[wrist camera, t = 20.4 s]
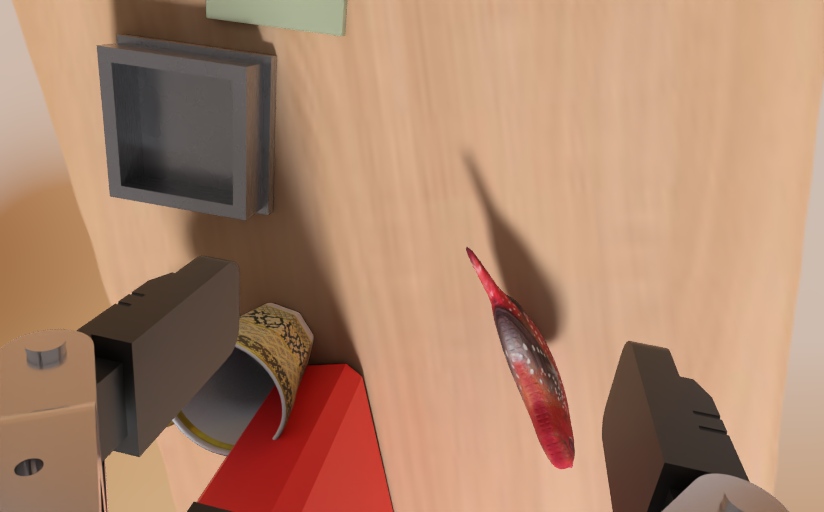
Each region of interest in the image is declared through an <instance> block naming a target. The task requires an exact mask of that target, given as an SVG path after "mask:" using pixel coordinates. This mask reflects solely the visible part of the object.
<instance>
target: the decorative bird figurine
mask: <svg viewBox="0 0 824 512" xmlns="http://www.w3.org/2000/svg"><path fill="white" fill-rule="evenodd" d="M466 251H467V254H468V256H469V258H470V261H471V263H472V264H473V267H474V269H475V270H476V273H477V274H478V277H479V279H480V280H481V282H482V284H483V286H484V288H485V290H486V292H487V294H488V296H489V299H490V301H491V304H492V310H493V316H494V321H495V325H496V328H497V331H498V335H499V338H500V341H501V345H502V348H503V351H504V354H505V357H506V360H507V362H508V365H509V368H510V370H511V373H512V375H513V377H514V380H515V382H516V384H517V387H518V389H519V392H520V394H521V396H522V399H523V401H524V403H525V406H526V408H527V410H528V412H529V415H530V417H531V420H532V423H533V426H534V428H535V431H536V434H537V437H538V439H539V442H540V444H541V446H542V448H543V450H544V452H545V454H546V455H547V457H548V459H549V460H550V462H551V463H552V464H553V465H554V466H555V467H557V468H559V469H566V468H568V467H570V468H572V466H573V461H574V455H575V450H574V437H573V432H572V427H571V421H570V415H569V408H568V403H567V398H566V394H565V390H564V387H563V384H562V380H561V377H560V374H559V372H558V369H557V366H556V364H555V361H554V359H553V356H552V354H551V352H550V350H549V348H548V346H547V344H546V342H545V340H544V338H543V336H542V335H541V333H540V331H539V330H538V328H537V327H536V325H535V324H534V323H533V322H532V320H531V319H530V318H529V317H528V316H527V314H526V313H525V312H524V310H523V309H522V308H521V306H520V305H519V304H518V303H517V302H516V301H515V300H514V299H512V298H511V297H509V296H508V295H506V294H505V293H504V292H503V291H501V289H500V288H499V287H498V286H497V285H496V283H495V282H494V280H493V279H492V278H491V276H490V275H489V274H488V272H487V270H486V269H485V268H484V266H483V265H482V264H481V262H480V261H479V259H478V258H477V256H476V255H475V254H474V253H473V251H472V250H470V249H469V248H468V247H467V248H466Z"/></svg>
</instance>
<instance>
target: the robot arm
mask: <svg viewBox="0 0 824 512" xmlns="http://www.w3.org/2000/svg"><path fill="white" fill-rule="evenodd" d="M239 305H240V271H239V266H238V264H237V263H236V262H232V261H227V260H222V259H217V258H212V257H207V256H199V257H197V258H196V259H194V260H193V261H191V262H190V263H189V264H187V265H186V266H184V267H183V268H182V269H180V270H179V271H178V272H176V273H169V274H166V275H163V276H161V277H158V278H155V279H152V280H149V281H147V282H146V283H144V284H143V285H142V286H140V287H139V288H137V289H136V290H134V291H133V292H132V295H130V294H129V295H127V296H126V297H124V298H123V299H121V300H120V301H119V303H118V304H114V305H113V306H111V307H110V308H109V309H107V310H106V311H104V312H103V313H101V314H100V315H98V316H97V317H95V318H94V319H93V320H92V321H90V322H88V323H87V324H85V325H84V326H82V327H81V328H80V329H78V330H77V331H74V330H66V329H54V330H53V329H52V330H43V331H38V332H33V333H29V334H26V335H23V336H21V337H18V338H16V339H14V340H12V341H10V342H8V343H7V344H5V345H4V346H3V347H2V348H1V349H0V512H108V499H107V483H106V467H105V459H106V458H107V456H108V455H109V454H110V453H111V452H112V451H117V452H121V453H125V454H129V455H133V456H137V457H140V456H141V455H142V454H143V452H144V451H145V450H146V449H147V448H148V447H149V446H150V445H151V443H152V442H153V441H154V440H155V439H156V438H157V437H158V436H159V435H160V433H161V432H162V431H163V430H164V429H165V428H166V427H167V426H168V424H169V423H170V422H171V421H172V420H173V419H174V418H175V417H176V415H177V414H178V413H179V412H180V411H181V410H182V409H183V408H184V407H185V405H186V404H187V403H188V402H189V401H190V400H191V399H192V398H193V396H194V395H195V394H196V393H197V392H198V391H199V390H200V389H201V388H202V386H203V385H204V384H205V383H206V382H207V381H208V380H209V379H210V377H211V376H212V375H213V374H214V373H215V372H216V371H217V370H218V369H219V367H220V366H221V365H222V364H223V363H224V362H225V361H226V360H227V358H228V357H229V356H230V355H231V353H232V351H233V349H234V347H235V345H236V342H237V338H238V333H239ZM602 441H603V448H604V454H605V461H606V468H607V475H608V482H609V488H610V495H611V502H612V509H613V512H789V511H788V510H787V509H786V508H785V507H784V505H783V504H781V503H780V502H779V501H778V500H777V499H776V498H775V497H773V496H772V495H771V494H769V493H768V492H766V491H765V490H763V489H762V488H760V487H758V486H756V485H754V484H753V483H750V482H749V480H748V477H747V475H746V473H745V471H744V468H743V466H742V464H741V462H740V459H739V457H738V455H737V453H736V450H735V448H734V446H733V444H732V441H731V439H730V437H729V436H728V435H727V430H726V428H725V426H724V424H723V421H722V420H720V415H719V412H718V410H717V408H716V406H715V403H714V401H713V399H712V397H711V396H710V395H709V394H708V393H707V392H706V391H705V390H704V389H703V388H702V387H701V386H700V385H699V384H698V383H697V382H695V381H694V380H693V379H689V378H684V377H680V376H679V374H678V371H677V369H676V366H675V363H674V361H673V358H672V356H671V353H670V351H669V349H667V348H662V347H657V346H652V345H647V344H642V343H637V342H632V341H628V342H626V344H625V346H624V348H623V350H622V354H621V357H620V360H619V364H618V367H617V370H616V374H615V377H614V380H613V384H612V387H611V390H610V394H609V397H608V400H607V404H606V407H605V411H604V417H603V424H602ZM187 512H233V511H229V510H225V509H221V508H217V507H213V506H209V505H205V504H201V503H198V502H193V504H192V505H191V507H190V508H189V509H188V511H187Z"/></svg>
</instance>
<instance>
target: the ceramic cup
mask: <svg viewBox="0 0 824 512" xmlns="http://www.w3.org/2000/svg"><path fill="white" fill-rule="evenodd" d="M313 337H314V336H313V334H312V332H311V331H310V329H309V327H308V326H307V324H306V323H305V321H304V319H303V318H302V316H301V314H300V313H299V312H296V311H293V310H291V309H288V308H285V307H282V306H279V305H277V304H274V303H266V304H264V305H262V306H260V307H258V308H256V309H254V310H252V311H250V312H248V313H246V314H244V315H242V316H240V317H239V333H238V338H237V342H236V345H235V347H234V349H233V351H232V353H231V355H230V356H229V357H228V358H227V360H226V361H225V362H224V363H223V364H222V365H221V366H220V367H219V369H218V370H217V371H216V372H215V373H214V374H213V375H212V376H211V377H210V379H209V380H208V381H207V382H206V383H205V384H204V385H203V386H202V388H201V389H200V390H199V391H198V392H197V393H196V394H195V395H194V396H193V398H192V399H191V400H190V401H189V402H188V403H187V404H186V405H185V407H184V408H183V409H182V410H181V411H180V412H179V413H178V414H177V415H176V417H175V418H174V419H173V420H172V421H171V422H170V423H169V424H168V426H171V425H174V424H175V425H176V426H177V427H178V428H179V430H180V431H181V432H182V433H183V434H185V435H186V436H187V437H188V438H189V439H190V440H192V441H193V442H194V443H196V444H197V445H199V446H201V447H203V448H205V449H206V450H209V451H211V452H214V453H217V454H220V455H224V456H227V455H228V454H229V453H230V451H231V450H232V448H233V447H234V445H235V444H236V442H237V440H238V439H239V437H240V436H241V434H242V433H243V432H244V430H245V429H246V427H247V426H248V424H249V423H250V421H251V420H252V418H253V417H254V415H255V414H256V412H257V411H258V409H259V408H260V406H261V405H262V403H263V402H264V400H265V399H266V397H267V396H268V394H269V393H270V391H271V390H272V388H273V387H274V385H276V387H277V389H278V391H279V394H280V398H281V403H282V419H281V423H280V426H279V428H278V430H277V432H276V434H275V435H274V437H273V438H272V439H273V440H276V439H278V438H279V437H280V436H281V434H282V432H283V430H284V428H285V426H286V423H287V421H288V419H289V416H290V413H291V411H292V408H293V405H294V402H295V398H296V393H297V390H298V387H299V385H300V382H301V380H302V377H303V375H304V372H305V370H306V367H307V364H308V361H309V357H310V353H311V349H312V344H313V340H314V338H313ZM168 426H167V427H168Z"/></svg>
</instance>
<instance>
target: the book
mask: <svg viewBox="0 0 824 512" xmlns="http://www.w3.org/2000/svg"><path fill="white" fill-rule="evenodd" d="M281 419H282V403H281V398H280V394H279V391H278V389H277V387H276V385H274V387H273V388H272V390H271V391H270V393H269V394H268V396H267V397H266V399H265V400H264V402H263V403H262V405H261V406H260V408H259V409H258V411H257V412H256V414H255V415H254V417H253V418H252V420H251V421H250V423H249V424H248V426H247V427H246V429H245V430H244V432H243V433H242V434H241V436H240V437H239V439H238V440H237V442H236V444H235V445H234V447H233V448H232V450H231V451H230V453H229V454H228V455H227V457H226V458H225V460H224V461H223V463H222V464H221V466H220V467H219V469H218V470H217V472H216V474H215V475H214V477H213V478H212V480H211V481H210V483H209V484H208V486H207V487H206V489H205V490H204V492H203V493H202V495H201V496H200V498H199V499H198V501H197V502H198V503H201V504H205V505H209V506H213V507H217V508H221V509H225V510H229V511H233V512H393V509H392V504H391V500H390V496H389V491H388V487H387V483H386V478H385V474H384V469H383V465H382V461H381V456H380V452H379V448H378V443H377V439H376V435H375V430H374V426H373V422H372V417H371V413H370V409H369V404H368V400H367V396H366V391H365V387H364V382H363V378H362V376H360V375H359V374H358V373H357V372H356V371H354V370H353V369H352V368H351V367H349V366H348V365H347V364H332V365H309V366H307V367H306V370H305V372H304V375H303V377H302V380H301V382H300V385H299V387H298V390H297V393H296V398H295V402H294V405H293V408H292V411H291V413H290V416H289V419H288V421H287V423H286V426H285V428H284V430H283V432H282V434H281V436H280V437H279V438H278V439H276V440H273V439H272V438H273V437H274V435H275V434H276V432H277V430H278V428H279V426H280V423H281Z"/></svg>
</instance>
